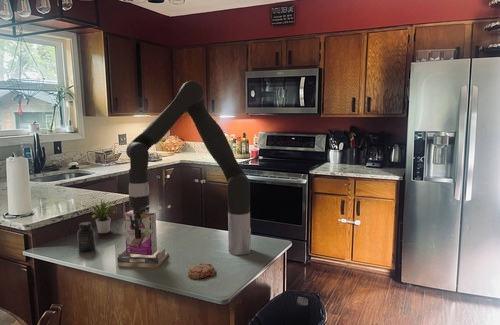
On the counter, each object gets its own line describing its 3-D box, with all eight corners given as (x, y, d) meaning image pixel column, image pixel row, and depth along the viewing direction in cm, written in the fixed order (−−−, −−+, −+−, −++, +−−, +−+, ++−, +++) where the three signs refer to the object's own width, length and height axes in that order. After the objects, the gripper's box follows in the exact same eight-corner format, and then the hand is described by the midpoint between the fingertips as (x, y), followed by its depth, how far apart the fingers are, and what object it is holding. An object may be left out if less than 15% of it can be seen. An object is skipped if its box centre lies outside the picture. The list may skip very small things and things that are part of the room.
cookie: (181, 277, 137) (181, 270, 137) (197, 266, 147) (197, 259, 146) (205, 282, 133) (205, 274, 133) (220, 271, 143) (220, 263, 142)
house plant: (102, 238, 179) (99, 204, 177) (81, 234, 185) (78, 202, 183) (123, 230, 192) (122, 198, 190) (103, 226, 198) (101, 196, 196)
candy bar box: (125, 254, 149) (123, 213, 147) (132, 249, 154) (130, 210, 152) (152, 256, 147) (150, 214, 145) (157, 251, 152) (156, 211, 150)
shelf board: (168, 254, 158) (168, 244, 158) (157, 267, 145) (157, 256, 145) (131, 253, 160) (130, 243, 159) (117, 266, 147) (116, 255, 146)
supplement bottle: (99, 248, 166) (97, 222, 165) (86, 254, 160) (84, 226, 159) (87, 246, 169) (86, 220, 168) (74, 251, 163) (73, 224, 161)
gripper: (137, 189, 155) (139, 230, 157) (121, 197, 141) (124, 241, 143) (155, 190, 154) (156, 230, 156) (141, 198, 140) (143, 242, 142)
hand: (141, 235), depth 150 cm, fingers closed on candy bar box, 5 cm apart
